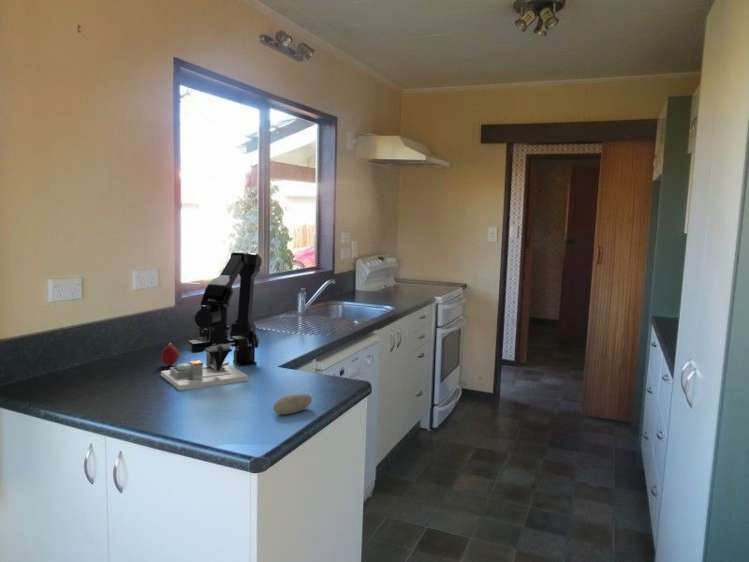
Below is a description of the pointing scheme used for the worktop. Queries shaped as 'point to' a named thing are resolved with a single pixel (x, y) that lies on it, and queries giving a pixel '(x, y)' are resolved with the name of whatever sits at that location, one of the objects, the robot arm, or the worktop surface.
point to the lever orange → (196, 369)
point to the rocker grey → (222, 364)
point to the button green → (183, 367)
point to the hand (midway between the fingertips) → (217, 370)
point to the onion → (169, 355)
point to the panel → (203, 377)
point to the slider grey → (208, 360)
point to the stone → (292, 403)
